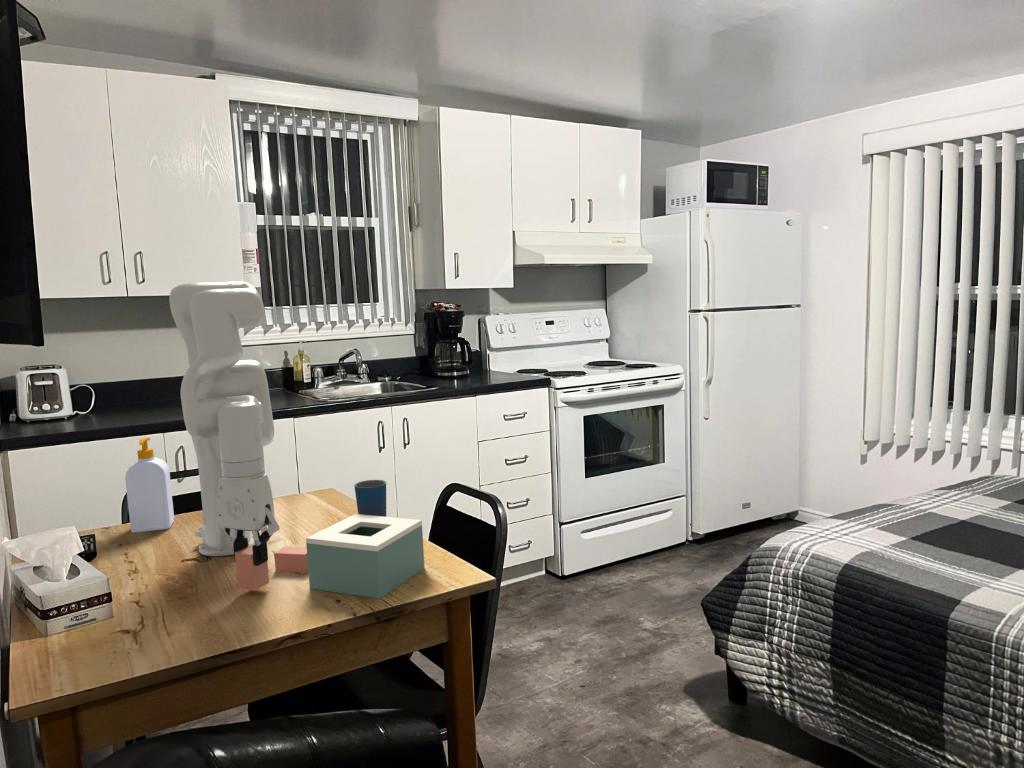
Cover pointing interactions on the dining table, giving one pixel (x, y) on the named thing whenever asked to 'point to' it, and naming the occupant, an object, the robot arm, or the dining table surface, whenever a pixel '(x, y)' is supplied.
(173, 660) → the dining table surface
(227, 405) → the robot arm
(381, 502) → the cup
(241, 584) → the salmon pink block
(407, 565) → the green and cream box
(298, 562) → the block
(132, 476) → the soap bottle
